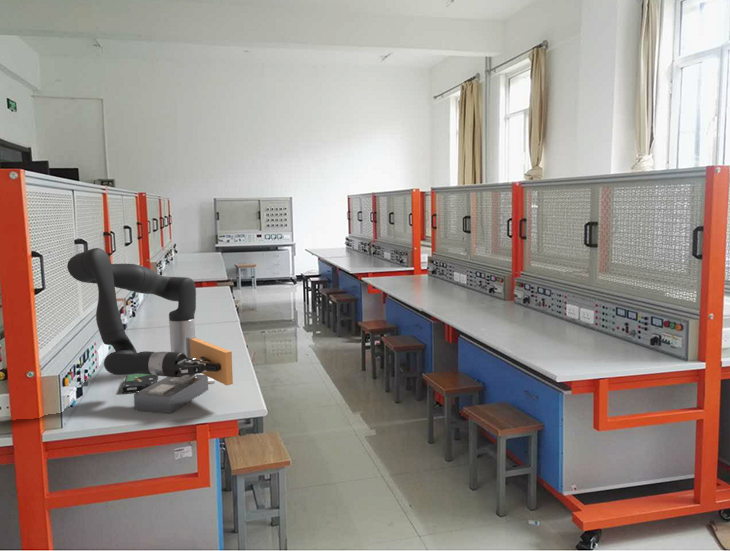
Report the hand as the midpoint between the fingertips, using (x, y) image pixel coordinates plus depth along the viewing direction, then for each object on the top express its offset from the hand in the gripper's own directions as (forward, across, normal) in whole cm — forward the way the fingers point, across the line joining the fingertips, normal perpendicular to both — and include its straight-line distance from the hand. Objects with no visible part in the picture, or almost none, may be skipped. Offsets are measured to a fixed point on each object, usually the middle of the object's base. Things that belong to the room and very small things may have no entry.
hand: (219, 367), depth 173 cm
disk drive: (-36, +13, +13) cm, 41 cm away
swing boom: (-8, +7, +5) cm, 12 cm away
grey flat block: (-18, +2, +12) cm, 21 cm away
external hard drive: (-20, +23, +13) cm, 33 cm away
